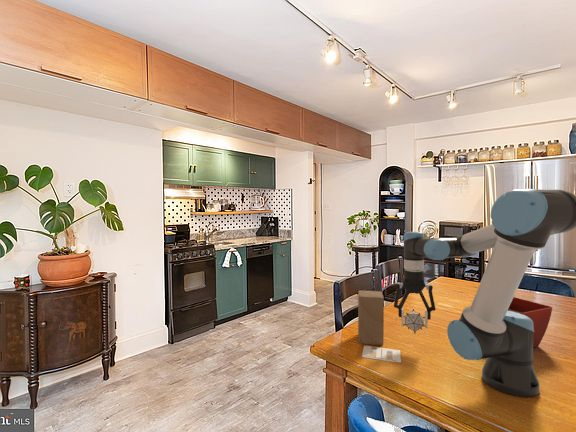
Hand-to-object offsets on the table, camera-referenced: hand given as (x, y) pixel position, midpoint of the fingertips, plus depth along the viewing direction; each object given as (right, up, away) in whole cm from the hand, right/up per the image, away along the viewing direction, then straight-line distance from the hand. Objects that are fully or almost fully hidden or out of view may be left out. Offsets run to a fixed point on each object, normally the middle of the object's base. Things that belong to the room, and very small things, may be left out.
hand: (414, 326), depth 126 cm
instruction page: (-15, -9, -5) cm, 18 cm away
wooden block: (-16, -9, +8) cm, 20 cm away
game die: (0, -2, 0) cm, 2 cm away
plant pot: (+43, -9, +5) cm, 45 cm away
